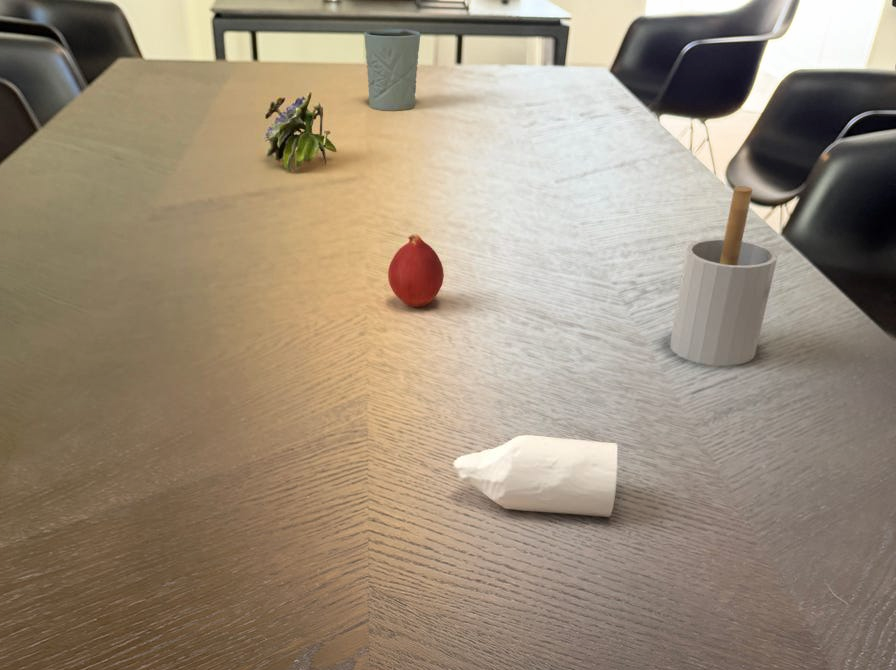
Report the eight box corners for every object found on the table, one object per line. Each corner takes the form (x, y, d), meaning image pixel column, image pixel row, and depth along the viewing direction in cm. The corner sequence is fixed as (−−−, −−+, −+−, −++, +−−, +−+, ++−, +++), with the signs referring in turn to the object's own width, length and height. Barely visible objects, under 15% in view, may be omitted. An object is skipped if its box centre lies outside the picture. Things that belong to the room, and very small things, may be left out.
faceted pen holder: (744, 339, 103) (766, 239, 96) (761, 373, 96) (786, 268, 90) (664, 337, 103) (680, 237, 97) (675, 370, 97) (694, 265, 90)
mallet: (726, 342, 101) (759, 183, 91) (733, 356, 98) (768, 194, 88) (690, 341, 101) (719, 182, 91) (696, 355, 98) (726, 193, 89)
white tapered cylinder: (456, 481, 80) (458, 416, 76) (607, 491, 79) (617, 426, 75) (448, 521, 75) (450, 454, 72) (609, 532, 74) (620, 465, 71)
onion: (407, 296, 112) (407, 221, 107) (452, 306, 109) (454, 230, 104) (379, 312, 108) (377, 236, 103) (425, 323, 105) (426, 245, 100)
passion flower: (282, 196, 160) (275, 120, 160) (348, 185, 158) (341, 108, 158) (258, 169, 149) (250, 86, 149) (328, 156, 147) (321, 73, 147)
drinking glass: (358, 109, 186) (356, 34, 179) (376, 98, 194) (375, 26, 186) (409, 113, 184) (409, 37, 176) (426, 102, 191) (427, 29, 184)
